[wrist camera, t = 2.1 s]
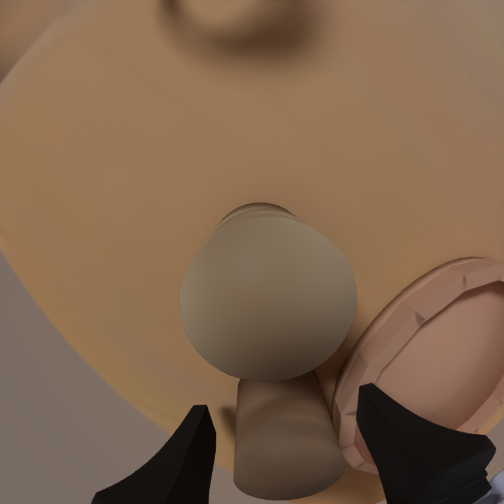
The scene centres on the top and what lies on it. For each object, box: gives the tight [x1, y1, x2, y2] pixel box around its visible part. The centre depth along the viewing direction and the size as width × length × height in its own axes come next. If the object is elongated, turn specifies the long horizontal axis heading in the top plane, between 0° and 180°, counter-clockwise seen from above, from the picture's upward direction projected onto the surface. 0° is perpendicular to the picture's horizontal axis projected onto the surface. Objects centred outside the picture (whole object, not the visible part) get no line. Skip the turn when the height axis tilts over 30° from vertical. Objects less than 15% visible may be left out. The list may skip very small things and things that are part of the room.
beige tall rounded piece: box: [179, 203, 357, 382], centre depth 9 cm, size 4×4×6 cm
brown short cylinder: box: [234, 370, 345, 500], centre depth 10 cm, size 4×4×6 cm
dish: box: [331, 257, 504, 475], centre depth 12 cm, size 15×15×2 cm
